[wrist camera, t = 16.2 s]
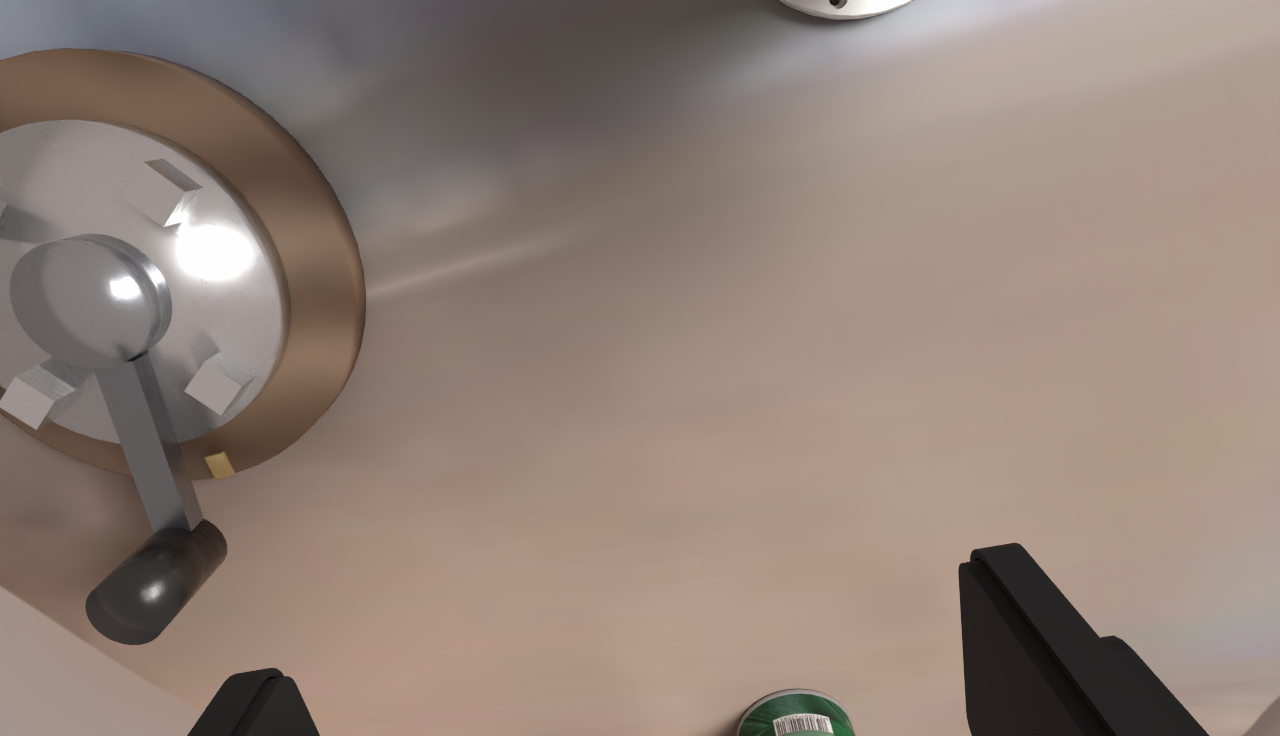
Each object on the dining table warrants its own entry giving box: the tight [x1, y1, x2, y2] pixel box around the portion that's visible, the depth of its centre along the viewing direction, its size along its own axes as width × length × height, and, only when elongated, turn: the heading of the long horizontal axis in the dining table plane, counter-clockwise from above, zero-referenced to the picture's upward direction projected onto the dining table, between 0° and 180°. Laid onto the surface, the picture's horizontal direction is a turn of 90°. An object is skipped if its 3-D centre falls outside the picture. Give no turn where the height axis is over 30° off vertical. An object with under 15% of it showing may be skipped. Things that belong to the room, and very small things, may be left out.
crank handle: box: [0, 119, 291, 645], centre depth 35 cm, size 24×16×7 cm
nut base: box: [0, 48, 366, 480], centre depth 38 cm, size 22×22×2 cm
